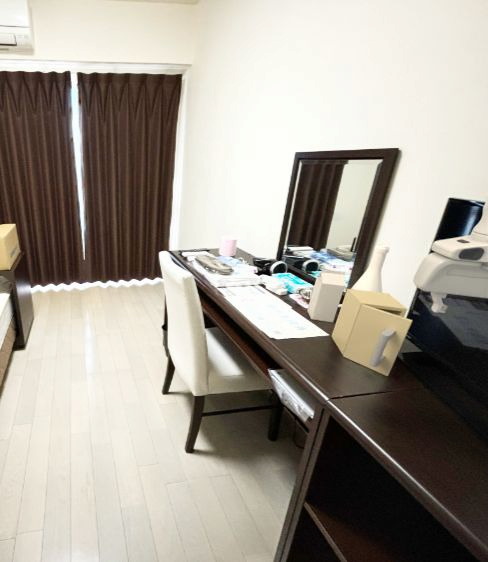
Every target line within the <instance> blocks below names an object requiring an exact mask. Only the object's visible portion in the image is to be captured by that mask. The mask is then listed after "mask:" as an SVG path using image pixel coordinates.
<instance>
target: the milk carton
mask: <svg viewBox="0 0 488 562" xmlns="http://www.w3.org/2000/svg"><path fill="white" fill-rule="evenodd" d="M345 273H346V271H341V270H332V269H331V270H330V269H321V272H320V273H319V274H318V275H317V276H316V279H315V283H314V286H313V290H312V292H311V296H310V298H309V299H310V300H309V303H308V307H307V314H308V315H309V317H310V320H314V321H319V322H325V323H334V320H335V318H336V315H337V311H338V309H339V306H340V302H341V299H342V296H343V293H344V290H345V287H346V280H345Z"/></svg>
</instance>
